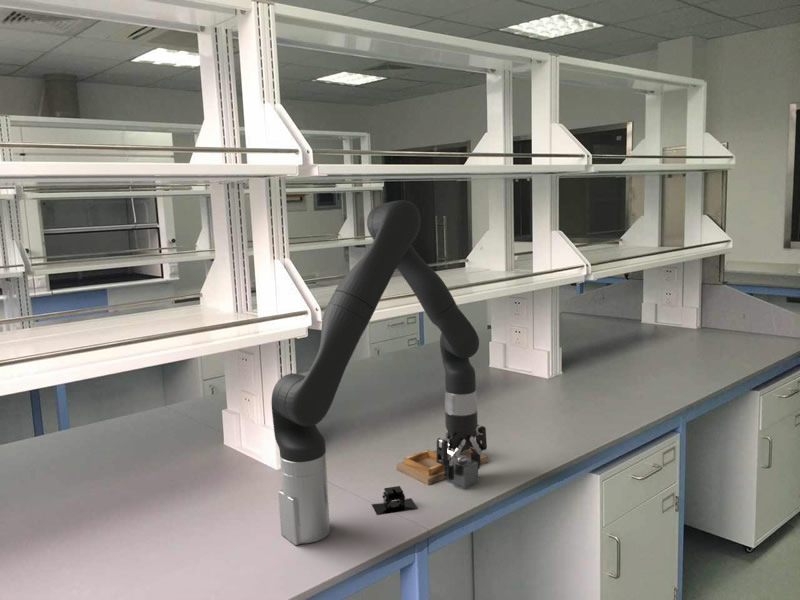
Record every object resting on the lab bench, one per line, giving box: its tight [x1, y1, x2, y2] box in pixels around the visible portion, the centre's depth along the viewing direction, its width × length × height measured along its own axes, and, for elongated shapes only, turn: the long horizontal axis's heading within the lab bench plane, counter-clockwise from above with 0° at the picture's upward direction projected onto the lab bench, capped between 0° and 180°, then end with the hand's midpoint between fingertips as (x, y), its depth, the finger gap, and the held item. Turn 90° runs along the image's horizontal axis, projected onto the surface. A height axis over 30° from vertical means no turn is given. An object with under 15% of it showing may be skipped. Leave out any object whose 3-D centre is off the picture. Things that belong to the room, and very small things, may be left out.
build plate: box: [371, 485, 419, 516], centre depth 146 cm, size 12×7×5 cm, turn 105°
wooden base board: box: [396, 449, 488, 486], centre depth 167 cm, size 20×12×4 cm, turn 129°
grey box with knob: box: [446, 455, 479, 490], centre depth 157 cm, size 5×6×6 cm
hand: (462, 473), depth 158 cm, fingers open, 8 cm apart
